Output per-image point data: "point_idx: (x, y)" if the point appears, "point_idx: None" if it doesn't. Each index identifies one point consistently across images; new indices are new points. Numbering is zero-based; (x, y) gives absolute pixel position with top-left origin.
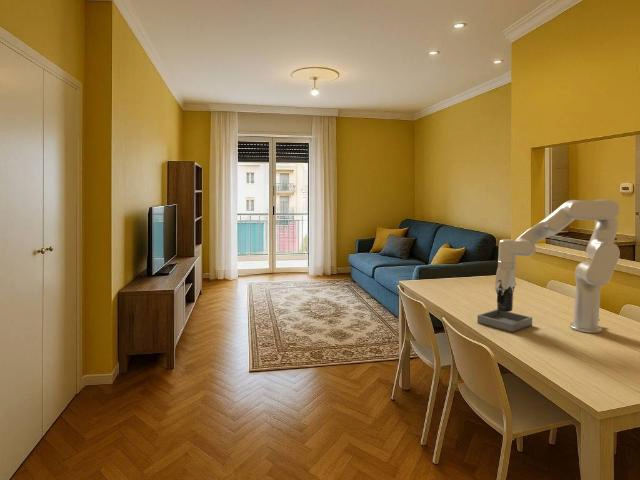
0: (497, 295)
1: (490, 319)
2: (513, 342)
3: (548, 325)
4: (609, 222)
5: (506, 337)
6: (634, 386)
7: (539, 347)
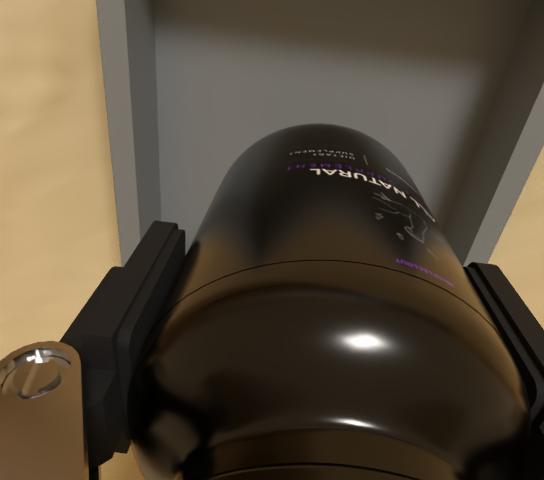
0: (95, 311)
1: (110, 103)
2: (11, 327)
3: None
4: None
5: (43, 275)
6: None
7: None
